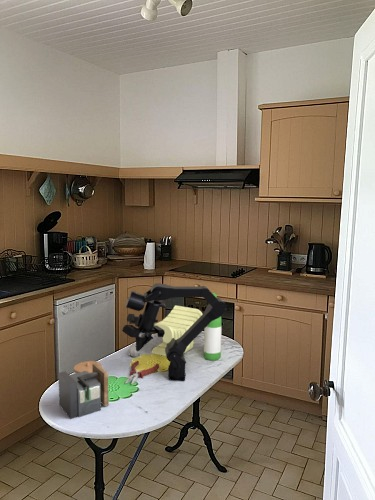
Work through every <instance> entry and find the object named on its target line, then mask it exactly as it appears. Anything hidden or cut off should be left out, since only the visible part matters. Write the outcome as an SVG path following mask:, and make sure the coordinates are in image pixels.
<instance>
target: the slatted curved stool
mask: <svg viewBox="0 0 375 500" xmlns="http://www.w3.org/2000/svg"><path fill="white" fill-rule="evenodd" d="M202 315H203V312H202V311H201V310H200V309H198V308H192V307H187V306H181V305H174V307H173V308H172V309H171V311H170V313H168V314H167V316H166V317H164V318H163V319H162V320H161V321H158V322H155V324H154V325H157V326H158V327H160V328H162V329H163V330H164V332H165V334H164V336H163V337H161V338H162V343H160V344H158V345H157V346H154V347H153V348H152V351H151V353H152V354H154V353H156V354H155V355H159V354H160V356H163V355H165V356H164V357H166V353H165V348H166V346H167V343H169V342H170V341H171V340H172V338H174V339H175V340H176V339H179V338H180V337H181V336H182V335H183V334H184V333H185V332H186V331H187V330H188V329H189V328H190V327H191V326H192V325H193V324H194V323H195V322H196V321H197V320H198V319H199V318H200V317H201V316H202ZM194 345H195V339H194V340H193V341H192V342H191V343H190V344H189V345H188V346H187V348H186V350H185V352H184V354H186V353H188V352H189V351H190V350H192V349H193V348H194Z"/></svg>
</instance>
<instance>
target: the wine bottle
mask: <svg viewBox="0 0 375 500" xmlns="http://www.w3.org/2000/svg"><path fill="white" fill-rule="evenodd" d="M211 293H212V294H213V295H214V296H215V297H216V298H218V295H217V293H214V292H211ZM203 331H204V333H203V336H204V338H203V356H204V358H205V359H206V360H208V361H218V360H219V359H221V357H222V316H221V317H219V318H218V319H215V320H213V321H212V322H210V323H209V324H208V325H207V327H206V328H205V329H204V330H203Z"/></svg>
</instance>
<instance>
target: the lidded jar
mask: <svg viewBox="0 0 375 500" xmlns="http://www.w3.org/2000/svg"><path fill="white" fill-rule="evenodd" d="M94 363H97V364H98V365H99V366H101V367H102V368H103V364H102V363H101V362H98V361H95V360H85V361H82V362H78V363H77V364H75V365H74V367H73V374H75V373H79V372H83V371H87V372H89V373H93V371H92V364H94Z"/></svg>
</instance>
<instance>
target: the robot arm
mask: <svg viewBox="0 0 375 500" xmlns="http://www.w3.org/2000/svg"><path fill="white" fill-rule="evenodd" d="M212 293H213V292H211V290H210V289H209V288H208V286H205V285H202V286H173V285H170V284H169V285H168V284H166V283H164V284H163V283H161V282H160V283H159V282H157V283H154V284H153V285H152V286H151V287H150V289H149V290H147V291H146V292H144V293H143V294H142V293H139V292H136V291H134V290H131V292H130V293H129V296H128V297H127V299H126V303H125V308H127V309H130V310H134V311H136V312H137V311H138V312H140V311H142V310H143V313H140V314H138V316H136V315H135V313H128V315H127V316H126V322H128V324H125V325H123V328H122V330H121V331H122V332H123V333H124V334H125V335H127V336H129V337H131V338H135V346H136V351H140V352H141V350H142V349H143V348H144V347H146V345H148V343H149V342H150V341H152V340H153V339H154V337H153V336H152V334H157V337H158V338H162V337H163V336H164V334H165V332H164V330H163V329H162V328H160V327H158V326H157V325H154V324H156V323H159V319H157V317H158V314H159V312H160V309H161V308H163V309H166V308H167V306H166V304H165V301H167V300H169V299H172V298H203V299H204V300H206V302H207V303H208V304H207V306H206V307H205V310H204V311H203V312H202V314H203V315H202V316H201V317H200V318H199V319H198V320H197V321H196V322H195V323H194V324H193V325H192V326H191V327H190V328H189V329H188V330H187V331H186V332H185V333H184V334H183V335H182V336H181V337H180V338H179V339H176V340H175V339H174V338H172V340H171V341H170V342H169V343H167V346H166V348H165V353H166V356H165V357H166V359H167V361H168V362H169V364H168V368H167V377H168V381H174V382H175V381H177V382H185V381H186V376H187V373H186V366H187V365H186V364H187V361H186V360H187V359H186V358H185V356H184V354H185V353H184V352H185V350H186V348H187V346H188V345H189V344H190V343H191V342H192V341H193V340H194V341H195V339H197V337H198V336H199V335H200V334H201V333H202V332H203V331H204V329H205V328H206V327H207V325H208V324H209V323H210V322H212V321H213V320H215V319H218V318H219V317H221V318H222V316H223V315H225V313H226V312H227V310H228V307H227V304H226V302H225V301H224V300H223V299H221V297H217V298H216V297H215V296H214V295H213V294H212ZM133 324H134V325H133Z"/></svg>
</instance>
